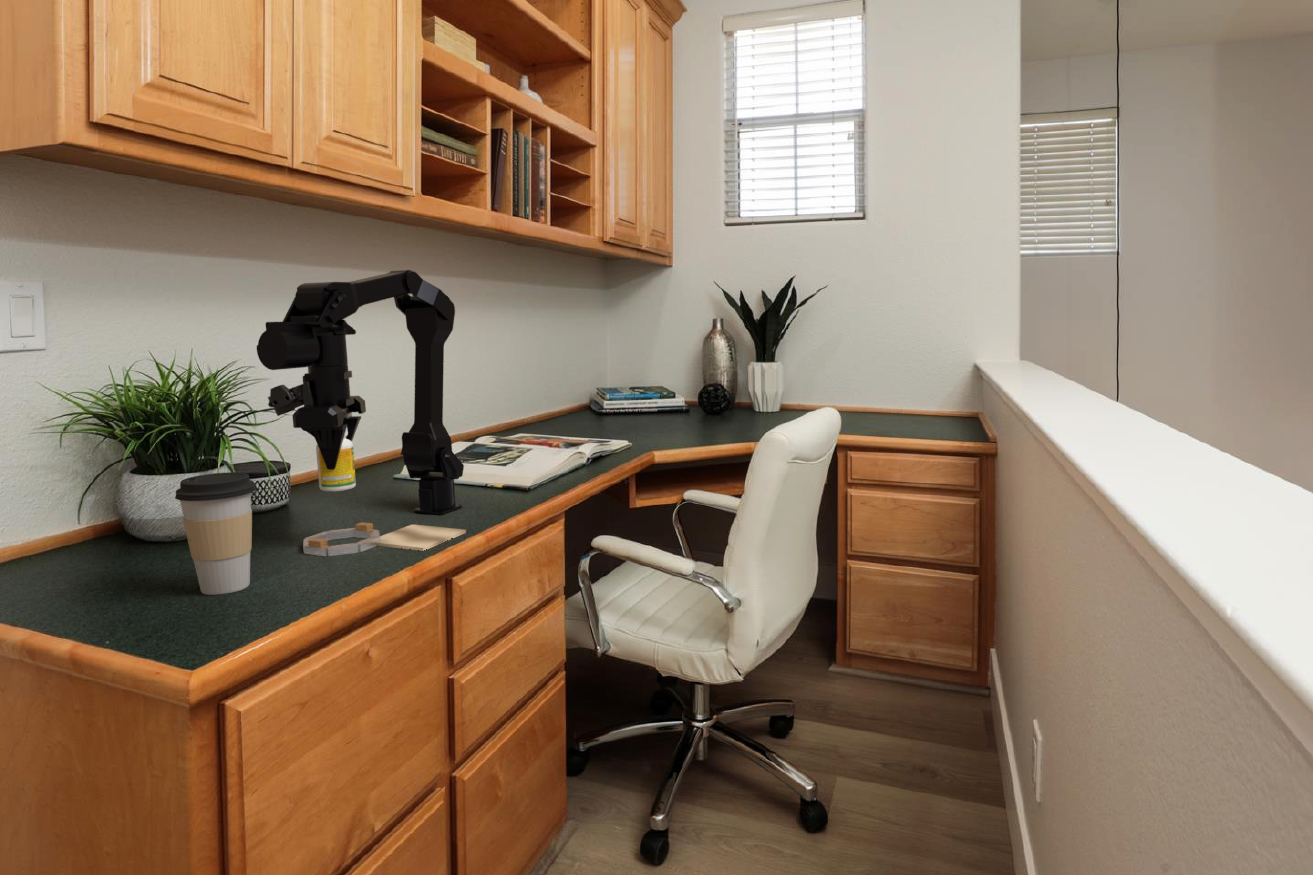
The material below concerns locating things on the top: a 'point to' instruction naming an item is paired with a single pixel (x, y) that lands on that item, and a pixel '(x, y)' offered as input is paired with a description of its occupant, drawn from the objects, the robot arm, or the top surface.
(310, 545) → the grey octagonal ring
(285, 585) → the top surface
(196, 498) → the coffee cup
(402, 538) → the coaster
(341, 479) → the supplement bottle
